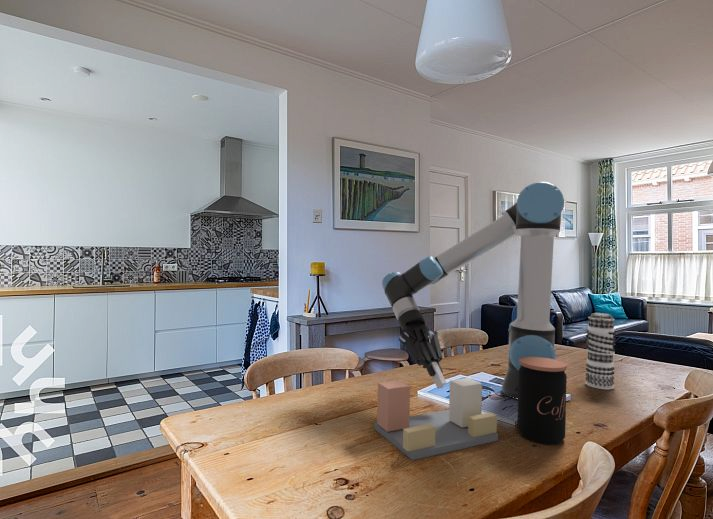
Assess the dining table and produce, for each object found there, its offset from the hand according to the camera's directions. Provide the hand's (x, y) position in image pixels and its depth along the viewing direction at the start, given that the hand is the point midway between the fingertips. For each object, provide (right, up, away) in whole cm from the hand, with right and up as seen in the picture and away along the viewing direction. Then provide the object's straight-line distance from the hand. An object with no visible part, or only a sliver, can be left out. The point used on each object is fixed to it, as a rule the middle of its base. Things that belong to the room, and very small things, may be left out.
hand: (442, 385), depth 108 cm
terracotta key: (-14, -6, -11) cm, 19 cm away
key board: (-4, -8, -11) cm, 15 cm away
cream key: (+4, -7, -8) cm, 11 cm away
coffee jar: (+22, -9, -10) cm, 26 cm away
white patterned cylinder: (+62, -10, +32) cm, 70 cm away
